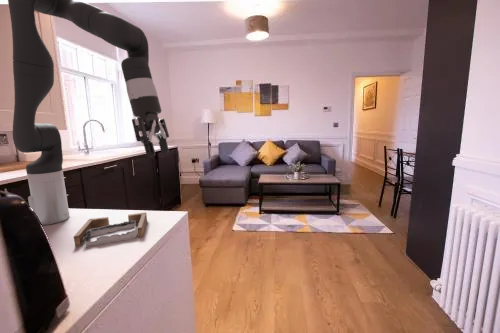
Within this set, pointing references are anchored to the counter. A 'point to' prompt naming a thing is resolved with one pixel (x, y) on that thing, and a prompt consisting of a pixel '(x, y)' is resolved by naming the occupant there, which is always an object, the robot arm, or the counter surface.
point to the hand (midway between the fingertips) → (158, 154)
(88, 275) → the counter surface
